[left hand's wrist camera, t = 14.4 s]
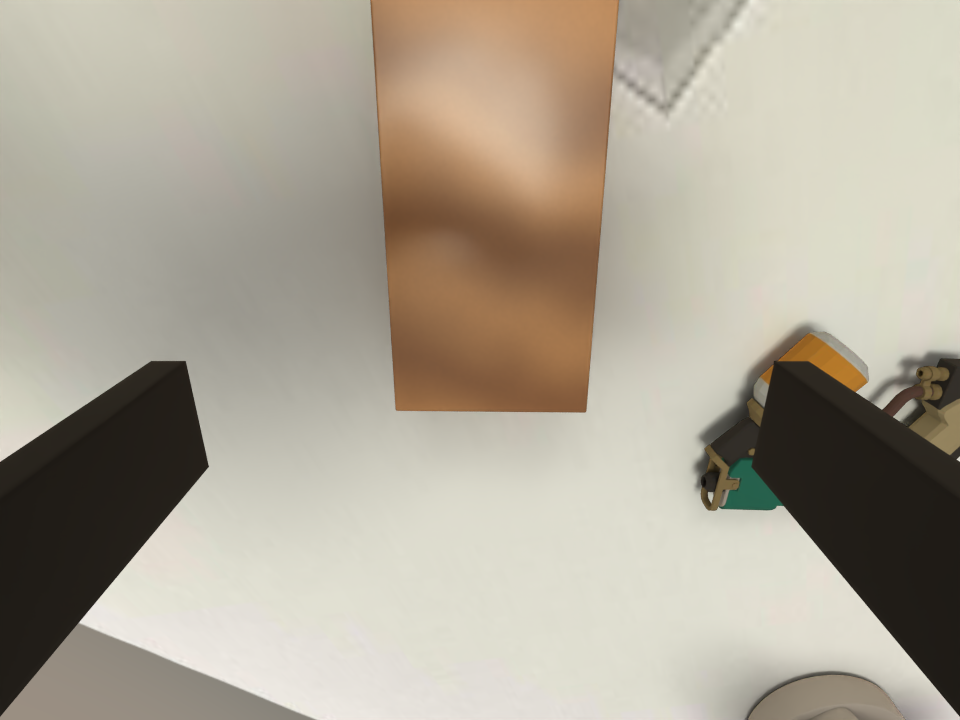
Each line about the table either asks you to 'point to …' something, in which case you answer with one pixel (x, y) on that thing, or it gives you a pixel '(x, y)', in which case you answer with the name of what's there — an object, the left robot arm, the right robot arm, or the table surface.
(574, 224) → the wide beam
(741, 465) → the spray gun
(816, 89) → the table surface
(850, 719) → the bust sculpture
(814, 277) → the table surface
